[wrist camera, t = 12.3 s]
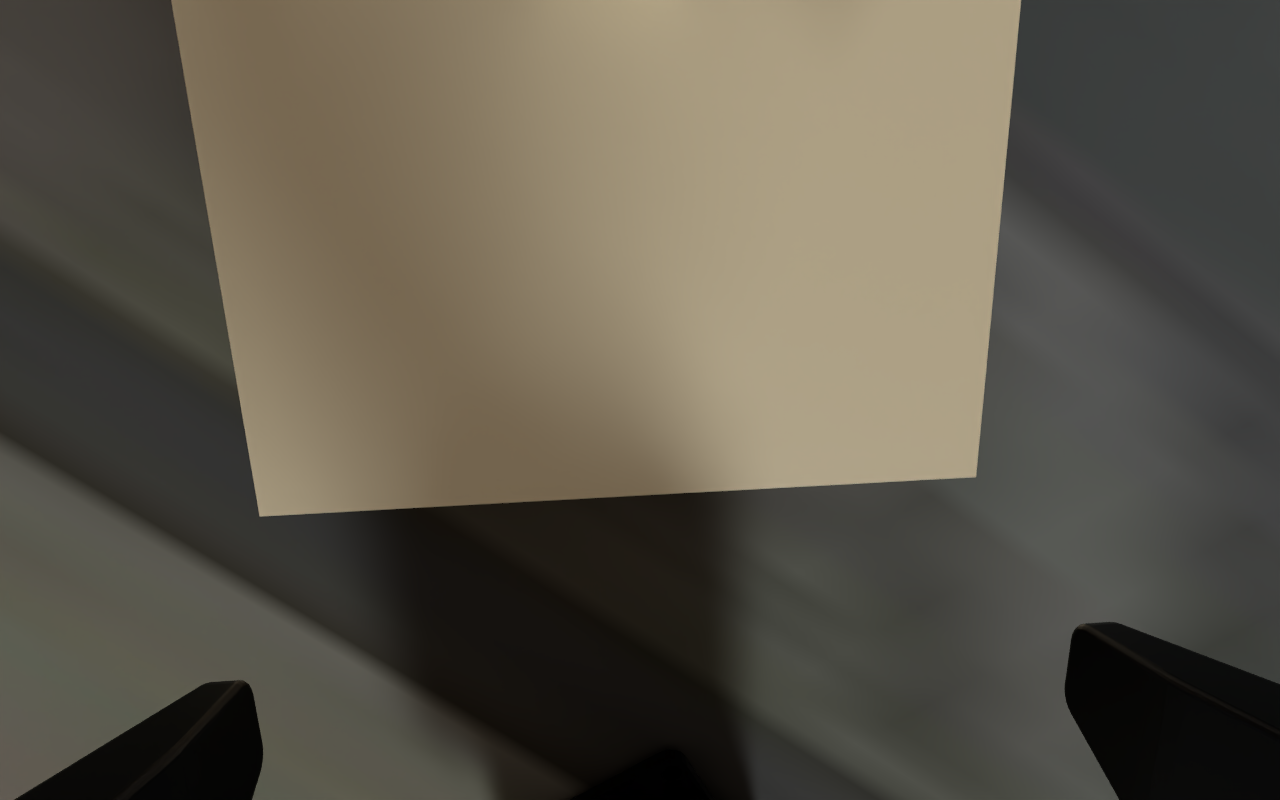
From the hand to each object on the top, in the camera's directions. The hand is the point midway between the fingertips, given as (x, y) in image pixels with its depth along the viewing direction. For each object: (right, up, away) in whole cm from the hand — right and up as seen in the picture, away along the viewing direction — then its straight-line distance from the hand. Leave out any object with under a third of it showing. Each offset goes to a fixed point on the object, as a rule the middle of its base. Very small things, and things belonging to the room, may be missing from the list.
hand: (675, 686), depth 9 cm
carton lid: (-1, +7, +6) cm, 10 cm away
